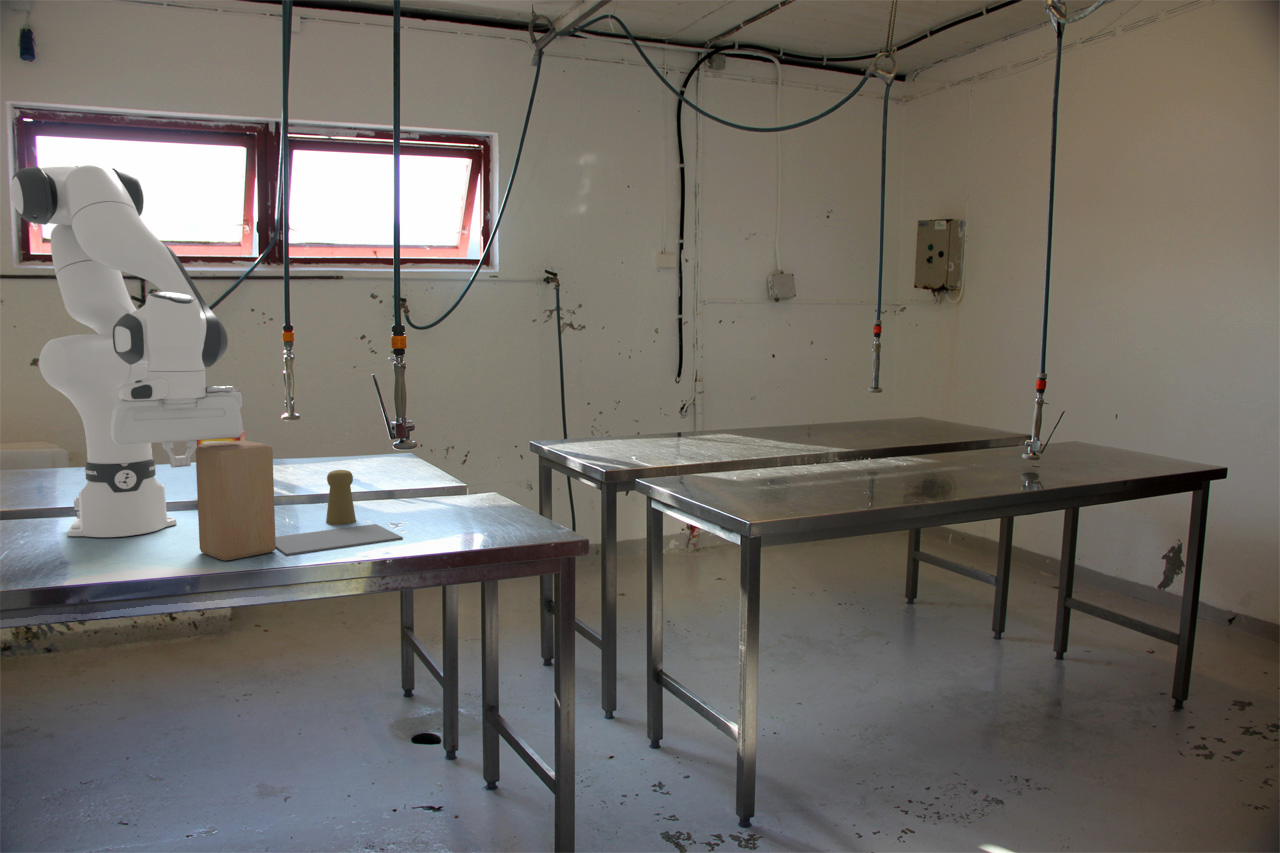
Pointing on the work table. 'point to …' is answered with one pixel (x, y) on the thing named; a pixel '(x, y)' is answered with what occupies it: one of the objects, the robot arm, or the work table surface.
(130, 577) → the work table surface
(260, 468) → the wooden block
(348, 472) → the cork
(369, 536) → the mat
